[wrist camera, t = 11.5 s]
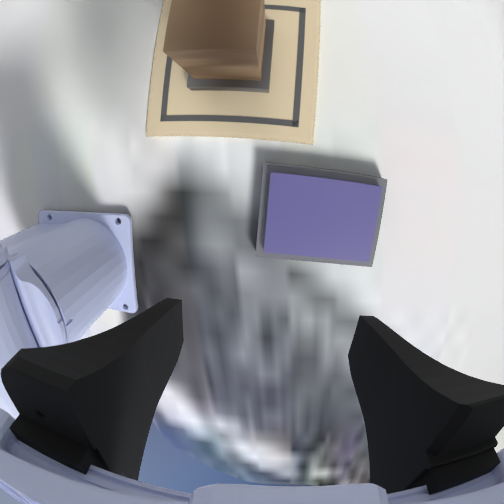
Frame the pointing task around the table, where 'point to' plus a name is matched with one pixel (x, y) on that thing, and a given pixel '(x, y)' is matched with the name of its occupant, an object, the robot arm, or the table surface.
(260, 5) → the stamp
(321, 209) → the pad
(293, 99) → the card
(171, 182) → the table surface
